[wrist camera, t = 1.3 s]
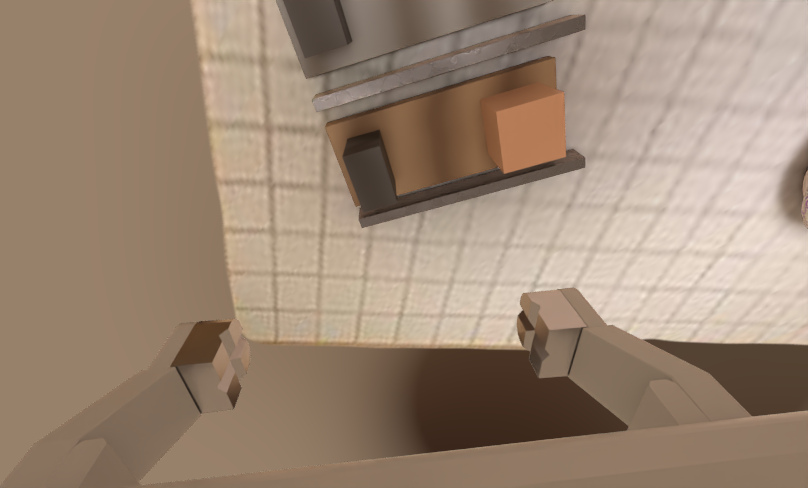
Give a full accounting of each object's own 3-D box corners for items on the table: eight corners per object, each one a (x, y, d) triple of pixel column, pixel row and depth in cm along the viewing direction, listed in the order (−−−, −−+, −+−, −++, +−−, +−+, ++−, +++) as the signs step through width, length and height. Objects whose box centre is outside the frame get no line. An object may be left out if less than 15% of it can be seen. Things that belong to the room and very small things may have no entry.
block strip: (547, 55, 30) (584, 63, 25) (552, 145, 35) (584, 168, 29) (327, 123, 32) (316, 143, 27) (356, 200, 36) (352, 232, 31)
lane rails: (566, -190, 23) (585, -211, 21) (573, 158, 36) (585, 167, 33) (252, -74, 25) (240, -83, 23) (362, 216, 38) (362, 228, 35)
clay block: (538, 82, 30) (564, 92, 26) (541, 139, 33) (565, 156, 28) (479, 99, 31) (496, 112, 26) (488, 154, 33) (504, 173, 29)
